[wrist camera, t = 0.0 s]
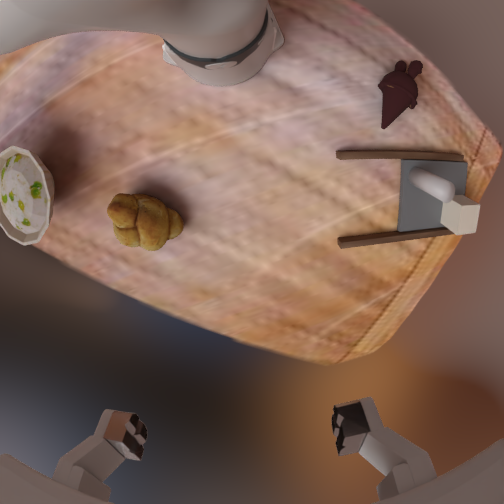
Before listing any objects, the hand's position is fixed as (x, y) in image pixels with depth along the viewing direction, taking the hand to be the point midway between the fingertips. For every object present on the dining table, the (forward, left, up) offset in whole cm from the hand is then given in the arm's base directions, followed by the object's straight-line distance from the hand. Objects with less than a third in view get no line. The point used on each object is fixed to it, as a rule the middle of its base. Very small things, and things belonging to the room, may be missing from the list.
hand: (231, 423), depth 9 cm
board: (+5, +37, -39) cm, 54 cm away
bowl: (-8, -40, -39) cm, 56 cm away
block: (+8, +42, -38) cm, 57 cm away
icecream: (-14, +27, -39) cm, 50 cm away
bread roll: (+4, -17, -39) cm, 43 cm away
